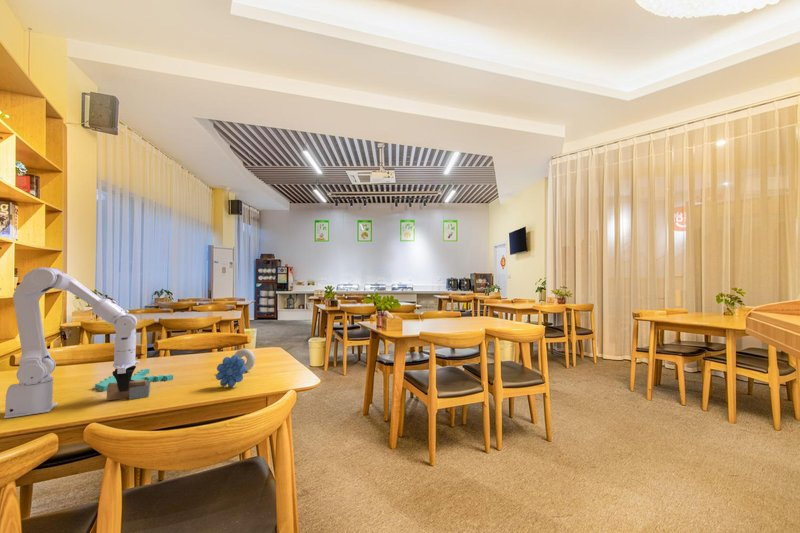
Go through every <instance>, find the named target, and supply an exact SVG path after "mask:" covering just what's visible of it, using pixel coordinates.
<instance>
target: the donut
mask: <svg viewBox="0 0 800 533" xmlns="http://www.w3.org/2000/svg"><path fill="white" fill-rule="evenodd" d="M234 355H237V356H238V358H239V359H243V357H245V359H246V362H245V363H244V365H243V366H245V367H246V368H247V370H246V372H248V371H250V370H252V368H253V367H254V365H255V362H256V355H255V354H254V352H253V351H252V350H250V349H249V348H246V347H245V348H240V349H238V350H237V351H236V352H235V353H234ZM239 359H238V360H239Z"/></svg>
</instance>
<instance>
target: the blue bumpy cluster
mask: <svg viewBox="0 0 800 533" xmlns="http://www.w3.org/2000/svg"><path fill="white" fill-rule="evenodd" d="M238 359H239V358H238V356H237V355H235V354H233V355H232V356H231V357H229V356H225V357H224V358H223V359H222V362H221V363H219V364H218V365H217V366H216V371H217V373H216V375H215V380H218V381H220V382H219V384H220V386H222V387H225V386H228V388H229V387H230V388H233V387H234V386H235V385H236V384H237V383H242V381H243V380H244V376H243V375H244V374H245V373H246V372H247V371H246V370H247V368H246V367H245V366H243V365H244V364H245V363H246V362H245V361H246V360H245V358H242V359H239V360H238Z"/></svg>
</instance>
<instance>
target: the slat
mask: <svg viewBox="0 0 800 533" xmlns="http://www.w3.org/2000/svg"><path fill="white" fill-rule="evenodd" d="M145 383H146V380H137V381H130V382H129V387H128V390H127V391H123V392H119V389H118V385H117V383H109V384H108V387H107V391H106V401H114V400H121V399H122V400H123V399H129V391H130V387H132V386H139V385H145Z"/></svg>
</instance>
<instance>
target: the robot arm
mask: <svg viewBox="0 0 800 533" xmlns="http://www.w3.org/2000/svg"><path fill="white" fill-rule="evenodd" d="M51 289H54V290H62V291H68V292H69V293H71V294H73V295H74V296H75V297H77V298H79V300H82V301H84V303H87V305H90V306H91V307H92V313H94V314H95V315H96V316H98V317H99V318H101V319H102V320H104V321H105V322H106V323H108V324H109V325H113V326H112V327H113V329H114V331H115V336H114V351H113V364H112V368H114V370H113V371H112V376H114V377H115V379H116V381H117V385H118V389H119V392H123V391H127V390H128V387H129V382H130V381H131V377H132V376H133V375H134V374H133V373H134V371H135V370H136V368H137V365H139V364H140V363H141V360H136V359H137V358H136V351H137V329H136V326H137V325H138V318H137V317H136V316H135V314H133V313H130V311H129V310H128V309H124V308H122V307H121V306H119V305H118V304H117V301H116V300H115V299H112V300H111V299H109V298H100V297H99V296H98V295H97V294H96V293H95V292H93V291H91V289H89V288H88V287H87V286H85V285H84V284H82V282H80V281H79V280H77V279H76V278H74V277H73V276H71V275H70V274H68V273H66V272H65V273H64V271H63V270H61V269H60V268H57V267H45V266H39V267H36V268H34V269H31V270H30V271H28V272H26V273H25V274H24V275H23V276H22V280H21V282H20V283H19V285H18V286H17V287H16V289H15V290H14V292H13V294H12V299H13V305H14V312H15V316H16V317H15V318H16V324H17V331H18V336H19V342H20V349H21V354H20V358H19V361H18V364H19V367H18V369H17V371H16V379H17V380H18V383H13V384H10V385H9V386H8V388H7V390H6V393H5V410H4V417H3V419H10V418H17V417H22V416H31V415H36V414H42V413H43V414H44V413H49V412H51V410H52V409H54V408H55V407H56V406H57V405H58V402H53V397H54V396H53V393H54V376H53V375H52V373H53V372H54V371H55V369H56V365H57V363H56V361H55V360H54V359H53V358H52V356H51V353H50V351H49V349H48V348H47V345H46V344H47V343H46V338H45V333H44V326H43V321H42V313H41V308H40V307H41V306H40V301H39V299H40V298H41V297H42V296H43V295H44V294H46V293H48V292H49V290H51Z"/></svg>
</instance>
